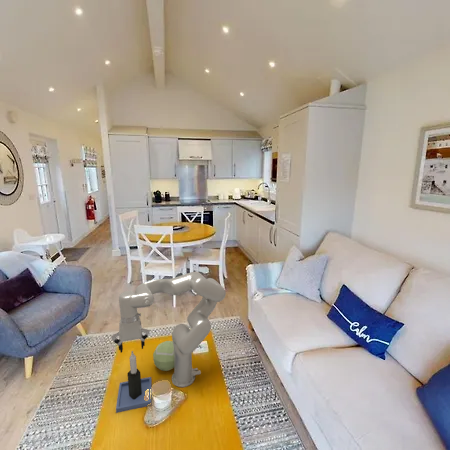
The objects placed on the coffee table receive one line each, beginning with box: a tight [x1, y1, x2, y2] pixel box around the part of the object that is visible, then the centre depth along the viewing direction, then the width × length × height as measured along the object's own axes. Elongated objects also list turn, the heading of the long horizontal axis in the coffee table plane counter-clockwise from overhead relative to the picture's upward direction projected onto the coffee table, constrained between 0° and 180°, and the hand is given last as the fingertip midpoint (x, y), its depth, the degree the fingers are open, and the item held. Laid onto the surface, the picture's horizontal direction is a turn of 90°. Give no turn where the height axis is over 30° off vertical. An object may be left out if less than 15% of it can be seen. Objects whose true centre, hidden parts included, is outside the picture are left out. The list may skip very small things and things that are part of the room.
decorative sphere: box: [152, 340, 174, 372], centre depth 151 cm, size 15×15×15 cm
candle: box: [127, 350, 142, 399], centre depth 131 cm, size 5×5×25 cm
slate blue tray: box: [115, 376, 152, 414], centre depth 133 cm, size 16×16×2 cm
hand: (132, 348), depth 128 cm, fingers open, 9 cm apart
